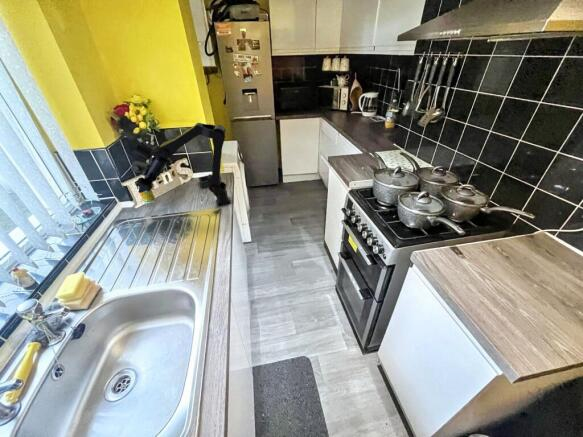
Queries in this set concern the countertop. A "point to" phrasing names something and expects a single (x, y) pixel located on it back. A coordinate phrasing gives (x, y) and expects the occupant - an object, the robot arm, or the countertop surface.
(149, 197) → the supplement bottle
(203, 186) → the pad socket
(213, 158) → the robot arm
